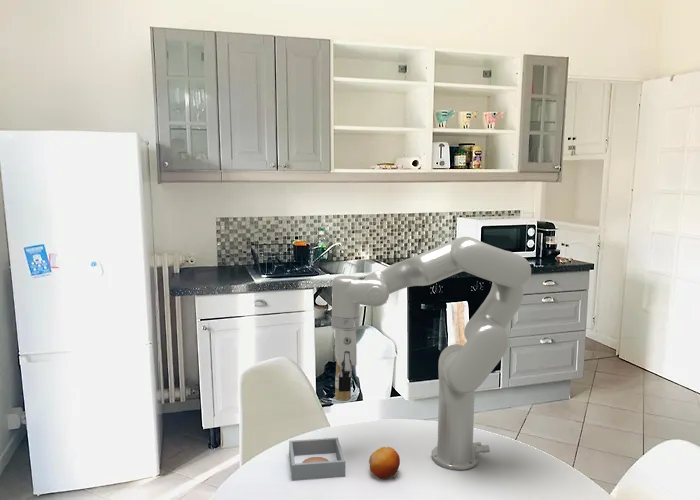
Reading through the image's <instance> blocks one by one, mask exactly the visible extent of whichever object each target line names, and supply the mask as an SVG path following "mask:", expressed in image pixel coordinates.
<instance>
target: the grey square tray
mask: <svg viewBox="0 0 700 500" xmlns="http://www.w3.org/2000/svg"><path fill="white" fill-rule="evenodd" d="M288 444H289V445H288V455H289V456H288V457H289V465H290V466H289V467H290V474H291V475H290V476H291V481H302V480H303V481H304V480H305V481H306V480H318V479H319V480H320V479H331V478H344V477H346V459H345V456H344V453H343V450H342V446H341V443H340V440H339V438H338V437H327V438H326V437H325V438H313V439H309V438H308V439H299V440H297V439H294V440H289V442H288ZM323 454H325V455H326V454H335V457H336V460H329V459H328V458H326V457H324V456H310V457H307V458H305V459H303V461H302V462H300V463H299V462H297V463H295V456H307V455H323Z"/></svg>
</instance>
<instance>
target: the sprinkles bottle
mask: <svg viewBox="0 0 700 500" xmlns="http://www.w3.org/2000/svg"><path fill="white" fill-rule="evenodd" d="M335 360H336V359H335ZM342 365H345V364H344V363H342ZM352 368H353V367H352V363H351V377H352V375H353V373H352V371H353V369H352ZM343 369H344V368H343ZM339 376H340V366H339V365H338V363H337V360H336V363H335V377H334V379H335V380H334V381H335V382H334V387H335V390H334V400H336V401H339V402H348V401H350V400H351V399H352V396H351V393H352V389H351V390H350V391H343V392H340V391H339Z"/></svg>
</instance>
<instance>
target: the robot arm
mask: <svg viewBox="0 0 700 500" xmlns="http://www.w3.org/2000/svg"><path fill="white" fill-rule="evenodd" d="M461 272H465V273H467V274H470V275H473V276H475V277H478V278H481V279H483V280H486V281H490V282H492V283H491V288H490V291H489V293H488V295H487V296H486V298H485V299H484V301H483V302H482V303H481V304H480V306H479V307H478V309H477V310H476V311H475V313H474V314H473V315H472V316H471V318H470V319H469V321H467V323H466V325H465V326H464V334H463V335H464V337H465V339H466V342H465V344H463V345H461V344H449V345H448V346H446V347H445V348H444V349H443V350H442V351H441V352H440V355H439V358H438V418H437V419H438V420H437V446H435V447H433V449H432V450H431V452H430V453H431V459H432V461H433V462H434V463H435V464H437V466H440V467H443V468H445V469H449V470H458V471H465V470H469V469H472V468H474V467H475V466H477V465H478V463H479V454H481V453H483V454H484V453H485V454H486V453H490V452H491V447H490V445H489V444H484V445H483V444H482V442H481V441H479V442H478V441H477V442H474V424H475V423H474V422H475V421H474V420H475V401H476V400H475V399H476V397H475V394H476V393H475V392H476V391H475V390H477V389H479V387H481V385H482V384H483V383H484V382H485V380H486V379H487V378H488V377H489V376H490V375H491V373H492V372H493V370H494V369H495V368H496V366H497V365H498V364H499V363H500V361H501V360H502V358H503V357H504V355H505V354H506V352H507V350H508V347H509V336H508V335H509V334H508V332H507V330H506V329H507V327H508V325H509V324H510V323H511V321H512V320H513V318H514V316H515V315H516V314H517V312H518V311H519V309H520V307H521V305H522V302H523V299H524V293H525V286H524V285H526V284H527V283H528V282H529V280H530V278H531V275H532V267H531V264H530V263H529V261H528V260H527V258H525V257H524V256H523V255H520V254H518V253H514V252H512V251H509V250H505V249H502V248H499V247H496V246H493V245H491V244H488V243H485V242H483V241H481V240H478V239H475V238H474V237H470V236H461V237H459V238H456V239H453V240H450V241H448V242H446V243H443V244H442V245H441V244H440V245H439V246H437V247H433V248H431V249H429V250H427V251H424V252H422V253H420V254H417V255H415V256H412V257H408V258H407V259H404V260H402V261H399V262H398V261H397V262H395V263H393V264H390V265H388V266H385V267H383V268H381V269H379V270H376V271H374V272H371V273H369V274H367V276H365V277H364V278H363V279H360V277H357V276H352V275H338V276H335V277H334V278H333V280H332V290H331V291H332V292H331V293H332V294H331V299H332V300H331V320H330V321H331V326H330V327H331V328H332V329H333V330H335V331H334V358H335V360H337V363H338V365H339V366H340V376H339V391H340V392H343V391H350V390H351V391H352V376H351V363H352V366H353V367H356V366H357V365H358V364H357V362H358V361H357V330H359V329H360V315H361V314H360V313H361V312H360V310H361V309H360V308H361V305H362V306H368V307H373V308H377V307H381V306H383V305H385V304H386V303H387V301H388V300H389V298H390V294H393V293H395V292H397V291H399V290H404V289H406V288H409V287H417V286H418V287H420V286H421V287H424V286H430V285H433V284H435V283H437V282H440V281H442V280H444V279H447V278H449V277H452V276H454V275H456V274H458V273H459V274H460V273H461ZM342 363H344V364H345V365H342ZM343 368H344V369H343Z"/></svg>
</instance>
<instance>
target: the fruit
mask: <svg viewBox="0 0 700 500" xmlns="http://www.w3.org/2000/svg"><path fill="white" fill-rule="evenodd" d="M368 463H369V470H370V472H371V474H373V475H374V476H375V477H376V478H378V479H380V480H381V479H382V480H387V479H395V476H396V474H397V473H398V472H399V469H400V464H401V459H400V455H399V453H398V452H397V451H396V450H395V449H394V448H393V447H391V446H382V447H380V448H377V449H376V450H374V451H373V452H372V453H371V455H370V456H369V461H368Z"/></svg>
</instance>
